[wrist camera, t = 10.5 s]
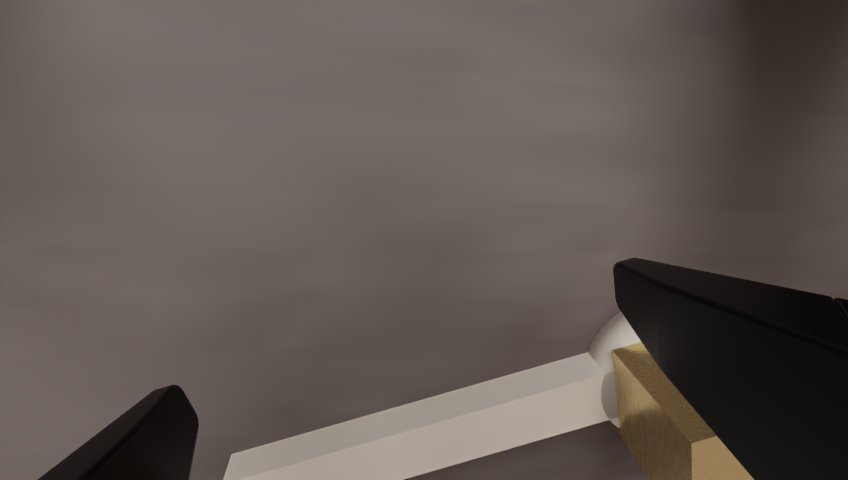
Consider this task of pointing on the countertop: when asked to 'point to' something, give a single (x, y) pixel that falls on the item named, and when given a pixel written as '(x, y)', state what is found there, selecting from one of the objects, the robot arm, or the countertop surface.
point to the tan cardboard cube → (666, 424)
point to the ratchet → (452, 422)
